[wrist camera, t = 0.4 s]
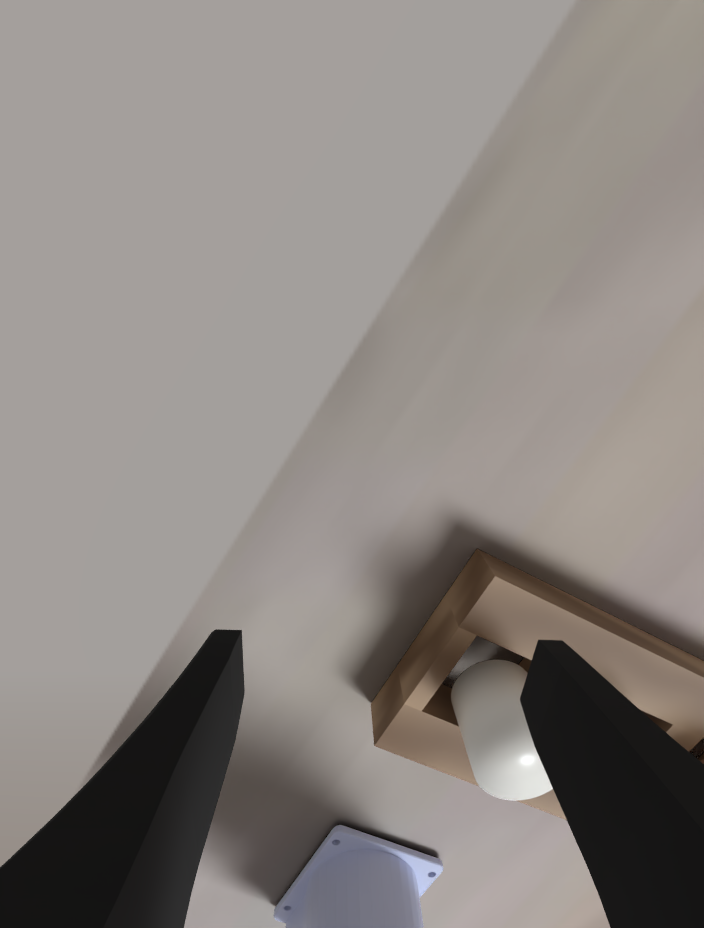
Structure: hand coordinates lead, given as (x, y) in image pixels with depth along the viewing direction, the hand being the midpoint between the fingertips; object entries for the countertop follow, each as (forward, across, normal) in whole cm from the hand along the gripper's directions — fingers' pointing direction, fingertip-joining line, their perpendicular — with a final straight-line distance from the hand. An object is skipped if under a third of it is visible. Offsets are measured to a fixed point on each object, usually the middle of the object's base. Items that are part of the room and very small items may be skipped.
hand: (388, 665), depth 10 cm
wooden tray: (+9, -13, +12) cm, 20 cm away
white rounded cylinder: (+7, -7, +9) cm, 13 cm away
